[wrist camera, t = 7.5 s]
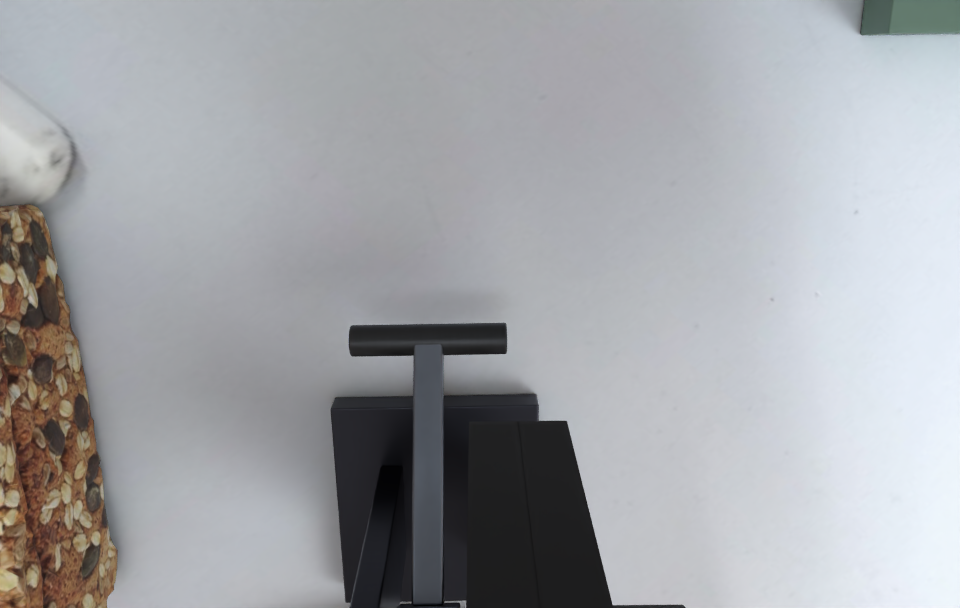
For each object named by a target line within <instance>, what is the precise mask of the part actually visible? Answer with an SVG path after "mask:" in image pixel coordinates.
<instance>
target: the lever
mask: <svg viewBox="0 0 960 608" xmlns="http://www.w3.org/2000/svg"><path fill="white" fill-rule="evenodd" d="M349 350H350V354H351V356H412V355H414V371H413V490H412V604H401V605H399V606H397V607H396V608H460V603H444V355H472V354H506V353H507V327H506V323H469V324H408V325H352V326H351V327H350V331H349Z"/></svg>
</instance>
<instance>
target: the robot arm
mask: <svg viewBox="0 0 960 608" xmlns="http://www.w3.org/2000/svg"><path fill="white" fill-rule="evenodd" d="M466 608H685V607H684V606H683V605H612V601H611V597H610V593H609V589H608V585H607V581H606V577H605V573H604V569H603V565H602V561H601V557H600V553H599V549H598V545H597V541H596V537H595V533H594V529H593V525H592V521H591V517H590V513H589V509H588V505H587V501H586V497H585V493H584V489H583V485H582V481H581V477H580V473H579V469H578V465H577V461H576V457H575V453H574V448H573V444H572V440H571V436H570V432H569V428H568V424H567V421H490V422H469V454H468V528H467V601H466Z"/></svg>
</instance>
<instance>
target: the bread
mask: <svg viewBox="0 0 960 608" xmlns="http://www.w3.org/2000/svg"><path fill="white" fill-rule="evenodd" d="M57 268H58V266H57V262H56V259H55V255H54V252H53V248H52V244H51V238H50V232H49V230H48V227H47V224H46V221H45V218H44V216H43V213H42V212H41V211H40V210H39V209H38V208H37V207H35V206H33V205H30V204H25V205H13V206H1V207H0V608H107V598H108V595H109V594H110V593H111V592H112V591H113V590H114V583H115V579H116V571H117V551H118V550H117V549H116V548H115V546H114V545H113V543H112V541H111V538H110V535H109V527H108V523H107V517H106V511H105V505H104V490H103V477H102V470H101V468H100V466H99V464H100V457H99V455H98V453H97V451H96V440H95V435H94V422H93V419H92V418H91V416H90V408H89V400H88V394H87V388H86V381H85V375H84V371H83V366H82V362H81V357H80V352H79V345H78V340H77V338H76V337H75V335H74V333H73V332H72V330H71V324H70V309H69V306H68V305H67V304H66V302H65V295H64V286H63V283H62V281H61V279H60V278H59V276H58V274H57Z"/></svg>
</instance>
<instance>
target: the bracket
mask: <svg viewBox="0 0 960 608" xmlns="http://www.w3.org/2000/svg"><path fill="white" fill-rule="evenodd" d="M331 420H332V433H333V446H334V459H335V472H336V485H337V498H338V511H339V524H340V537H341V550H342V563H343V576H344V589H345V601H346V603H350V608H396V607H397V606H399V605H400V602H408V601H412V490H413V396H412V397H353V398H335V400H334V402H333V405H332V407H331ZM490 421H539V405H538V400H537V395H535V394H529V395H470V396H444V601H460V600H467V528H468V454H469V422H490Z"/></svg>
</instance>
